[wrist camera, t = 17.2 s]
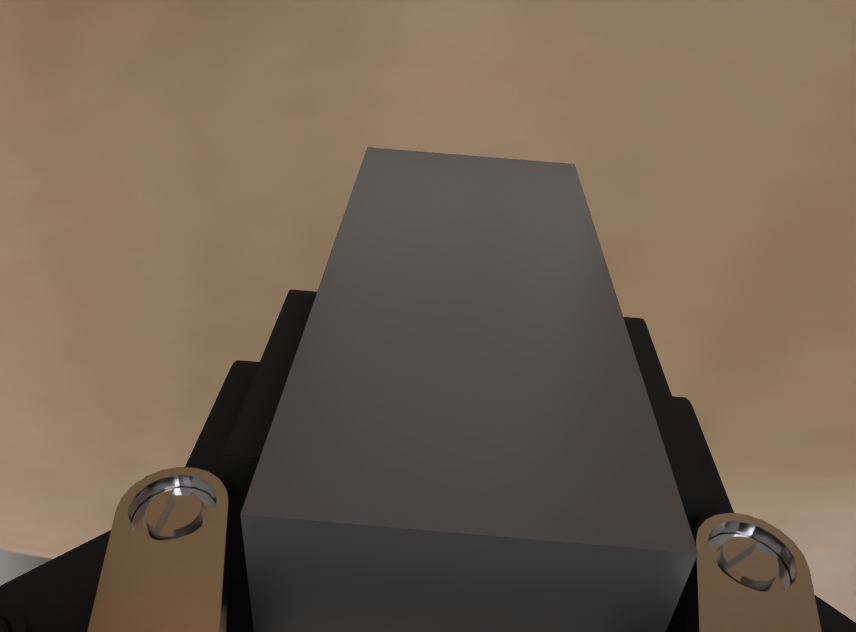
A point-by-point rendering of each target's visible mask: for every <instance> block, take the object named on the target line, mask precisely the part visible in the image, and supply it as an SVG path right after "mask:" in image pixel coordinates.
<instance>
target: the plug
mask: <svg viewBox="0 0 856 632" xmlns="http://www.w3.org/2000/svg"><path fill="white" fill-rule="evenodd" d="M240 515H241V524H242V533H243V541H244V550H245V559H246V567H247V576H248V585H249V593H250V602H251V611H252V619H253V628H254V632H666V630H667V627H668V625H669V622H670V620H671V618H672V615H673V613H674V610H675V608H676V606H677V603H678V601H679V598H680V596H681V594H682V591H683V589H684V586H685V584H686V582H687V579H688V577H689V574H690V572H691V570H692V567H693V565H694V562H695V560H696V558H697V555H698V551H697V548H696V545H695V542H694V539H693V535H692V532H691V529H690V526H689V523H688V520H687V516H686V513H685V510H684V507H683V504H682V501H681V498H680V494H679V491H678V488H677V485H676V482H675V479H674V476H673V472H672V469H671V466H670V463H669V460H668V457H667V454H666V450H665V447H664V444H663V441H662V438H661V435H660V432H659V428H658V425H657V422H656V419H655V416H654V413H653V410H652V406H651V403H650V400H649V397H648V394H647V391H646V388H645V384H644V381H643V378H642V375H641V372H640V369H639V366H638V362H637V359H636V356H635V353H634V350H633V347H632V344H631V340H630V337H629V334H628V331H627V328H626V325H625V321H624V318H623V315H622V312H621V309H620V306H619V303H618V299H617V296H616V293H615V290H614V287H613V284H612V281H611V277H610V274H609V271H608V268H607V265H606V262H605V259H604V255H603V252H602V249H601V246H600V243H599V240H598V237H597V233H596V230H595V227H594V224H593V221H592V218H591V215H590V211H589V208H588V205H587V202H586V199H585V196H584V193H583V189H582V186H581V183H580V180H579V177H578V174H577V171H576V167H575V164H565V163H553V162H540V161H528V160H516V159H503V158H491V157H479V156H466V155H454V154H442V153H430V152H417V151H405V150H393V149H380V148H368V147H367V150H366V153H365V156H364V159H363V162H362V164H361V167H360V170H359V173H358V176H357V179H356V182H355V185H354V188H353V190H352V193H351V196H350V199H349V202H348V205H347V208H346V211H345V214H344V216H343V219H342V222H341V225H340V228H339V231H338V234H337V237H336V240H335V242H334V245H333V248H332V251H331V254H330V257H329V260H328V263H327V266H326V268H325V271H324V274H323V277H322V280H321V283H320V286H319V289H318V292H317V294H316V297H315V300H314V303H313V306H312V309H311V312H310V315H309V318H308V320H307V323H306V326H305V329H304V332H303V335H302V338H301V341H300V344H299V346H298V349H297V352H296V355H295V358H294V361H293V364H292V367H291V370H290V372H289V375H288V378H287V381H286V384H285V387H284V390H283V393H282V396H281V398H280V401H279V404H278V407H277V410H276V413H275V416H274V419H273V422H272V424H271V427H270V430H269V433H268V436H267V439H266V442H265V445H264V448H263V451H262V453H261V456H260V459H259V462H258V465H257V468H256V471H255V474H254V477H253V479H252V482H251V485H250V488H249V491H248V494H247V497H246V500H245V503H244V505H243V508H242V511H241V514H240Z"/></svg>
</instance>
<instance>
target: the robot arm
mask: <svg viewBox="0 0 856 632" xmlns="http://www.w3.org/2000/svg"><path fill="white" fill-rule="evenodd" d="M316 294H317V292H313V291H301V290H290V291H289V292H288V295H287V297H286V299H285V302H284V304H283V307H282V309H281V312H280V314H279V317H278V319H277V321H276V324H275V326H274V329H273V331H272V334H271V336H270V339H269V341H268V343H267V346H266V348H265V351H264V353H263V356H262V358H261V361H260V362H252V361H240V360H237V361H236V362H234V363H233V365H232V367H231V369H230V371H229V373H228V375H227V377H226V379H225V382H224V384H223V386H222V388H221V390H220V392H219V395H218V397H217V399H216V401H215V403H214V405H213V408H212V410H211V412H210V414H209V416H208V419H207V421H206V423H205V425H204V427H203V429H202V432H201V434H200V436H199V438H198V440H197V442H196V445H195V447H194V449H193V451H192V453H191V455H190V458H189V460H188V462H187V464H186V466H185V467H176V468H171V469H166V470H161V471H159V472H156V473H154V474H151V475H149V476H146V477H145V478H143V479H142V480H140V481H139V482H137V483H136V484H134V485H133V486H132V487H131V488H130V489H129V490H128V491H127V492H126V493H125V494H124V496H123V497H122V498H121V500H120V502H119V505H118V507H117V509H116V512H115V516H114V520H113V524H112V529H111V530H110V531H108V532H106V533H104V534H102V535H100V536H98V537H96V538H94V539H92V540H90V541H88V542H86V543H84V544H82V545H80V546H78V547H76V548H74V549H72V550H70V551H68V552H66V553H64V554H63V555H61V556H59V557H57V558H55V559H53V560H51V561H49V562H47V563H45V564H43V565H41V566H39V567H37V568H35V569H33V570H31V571H29V572H27V573H25V574H23V575H21V576H19V577H17V578H15V579H13V580H11V581H9V582H7V583H5V584H3V585H1V586H0V632H254V628H253V619H252V611H251V602H250V593H249V585H248V576H247V567H246V559H245V550H244V541H243V533H242V524H241V515H240V514H241V511H242V508H243V505H244V503H245V500H246V497H247V494H248V491H249V488H250V485H251V482H252V479H253V477H254V474H255V471H256V468H257V465H258V462H259V459H260V456H261V453H262V451H263V448H264V445H265V442H266V439H267V436H268V433H269V430H270V427H271V424H272V422H273V419H274V416H275V413H276V410H277V407H278V404H279V401H280V398H281V396H282V393H283V390H284V387H285V384H286V381H287V378H288V375H289V372H290V370H291V367H292V364H293V361H294V358H295V355H296V352H297V349H298V346H299V344H300V341H301V338H302V335H303V332H304V329H305V326H306V323H307V320H308V318H309V315H310V312H311V309H312V306H313V303H314V300H315V297H316ZM623 318H624V321H625V325H626V328H627V331H628V334H629V337H630V340H631V344H632V347H633V350H634V353H635V356H636V359H637V362H638V366H639V369H640V372H641V375H642V378H643V381H644V384H645V388H646V391H647V394H648V397H649V400H650V403H651V406H652V410H653V413H654V416H655V419H656V422H657V425H658V428H659V432H660V435H661V438H662V441H663V444H664V447H665V450H666V454H667V457H668V460H669V463H670V466H671V469H672V472H673V476H674V479H675V482H676V485H677V488H678V491H679V494H680V498H681V501H682V504H683V507H684V510H685V513H686V516H687V520H688V523H689V526H690V529H691V532H692V535H693V539H694V542H695V545H696V548H697V551H698V555H697V558H696V560H695V562H694V565H693V567H692V570H691V572H690V574H689V577H688V579H687V582H686V584H685V586H684V589H683V591H682V594H681V596H680V598H679V601H678V603H677V606H676V608H675V610H674V613H673V615H672V618H671V620H670V622H669V625H668V627H667V630H666V632H856V623H855V622H853V621H852V620H851V619H849V618H848V617H846V616H845V615H843V614H842V613H840V612H839V611H837V610H836V609H835V608H833V607H832V606H830V605H829V604H827V603H826V602H824V601H823V600H821V599H820V598H818V597H817V596H816V595H814V590H813V585H812V580H811V575H810V570H809V567H808V565H807V562H806V560H805V557H804V555H803V554H802V552H801V551H800V550H799V548H798V547H797V546H796V544H795V543H794V542H793V541H792V540H791V539H790V538H788V537H787V536H786V535H785V534H784V533H783V532H782V531H780V530H779V529H777V528H775V527H774V526H772V525H770V524H768V523H767V522H765V521H763V520H760V519H757V518H754V517H751V516H749V515H743V514H736V513H734V512H733V509H732V507H731V504H730V502H729V499H728V496H727V494H726V491H725V489H724V486H723V484H722V481H721V479H720V476H719V473H718V471H717V468H716V466H715V463H714V461H713V458H712V455H711V453H710V450H709V448H708V445H707V443H706V440H705V438H704V435H703V432H702V430H701V427H700V425H699V422H698V420H697V417H696V414H695V412H694V409H693V407H692V405H691V403H690V401H689V400H688V399H686V398H685V397H673V396H672V395H671V392H670V389H669V387H668V384H667V381H666V378H665V376H664V373H663V370H662V367H661V365H660V362H659V359H658V356H657V353H656V351H655V348H654V345H653V342H652V340H651V337H650V334H649V331H648V328H647V326H646V323H645V321H644V319H641V318H629V317H623Z"/></svg>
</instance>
